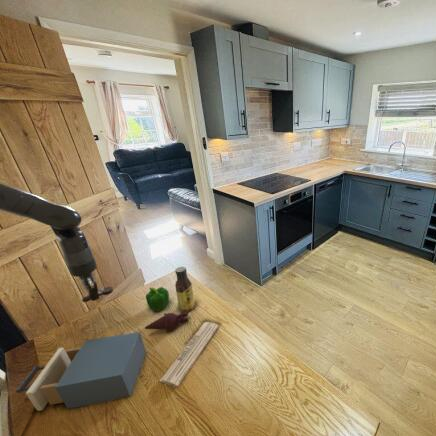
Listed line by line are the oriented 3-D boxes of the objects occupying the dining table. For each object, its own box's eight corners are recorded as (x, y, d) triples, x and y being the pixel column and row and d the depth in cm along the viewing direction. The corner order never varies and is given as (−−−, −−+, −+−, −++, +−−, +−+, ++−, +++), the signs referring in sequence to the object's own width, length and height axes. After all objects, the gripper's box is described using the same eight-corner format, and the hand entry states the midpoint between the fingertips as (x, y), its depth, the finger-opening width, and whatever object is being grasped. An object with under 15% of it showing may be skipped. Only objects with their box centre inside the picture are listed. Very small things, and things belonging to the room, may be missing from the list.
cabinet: (67, 409, 67) (54, 387, 63) (94, 360, 80) (85, 340, 76) (130, 396, 70) (121, 374, 66) (146, 351, 84) (139, 331, 80)
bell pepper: (174, 304, 104) (170, 286, 100) (156, 316, 98) (151, 298, 94) (163, 297, 108) (159, 279, 104) (145, 308, 102) (140, 290, 98)
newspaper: (178, 387, 73) (177, 384, 72) (158, 381, 74) (157, 377, 74) (218, 327, 94) (218, 324, 93) (203, 323, 95) (202, 320, 95)
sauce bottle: (191, 313, 100) (184, 274, 92) (177, 313, 100) (168, 274, 92) (197, 302, 106) (191, 265, 98) (184, 302, 106) (176, 264, 98)
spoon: (84, 305, 88) (82, 300, 87) (81, 300, 90) (79, 296, 89) (114, 291, 95) (112, 287, 94) (111, 288, 97) (110, 283, 96)
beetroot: (143, 331, 84) (189, 320, 91) (143, 313, 89) (186, 303, 96) (145, 342, 87) (189, 329, 94) (145, 324, 93) (187, 313, 100)
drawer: (14, 415, 64) (0, 398, 61) (48, 368, 77) (38, 351, 73) (97, 398, 69) (89, 381, 66) (118, 356, 81) (111, 339, 78)
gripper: (61, 257, 86) (77, 294, 93) (71, 272, 78) (87, 312, 85) (87, 249, 91) (100, 285, 98) (99, 262, 83) (112, 300, 90)
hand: (94, 297), depth 91 cm, fingers closed on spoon, 2 cm apart
